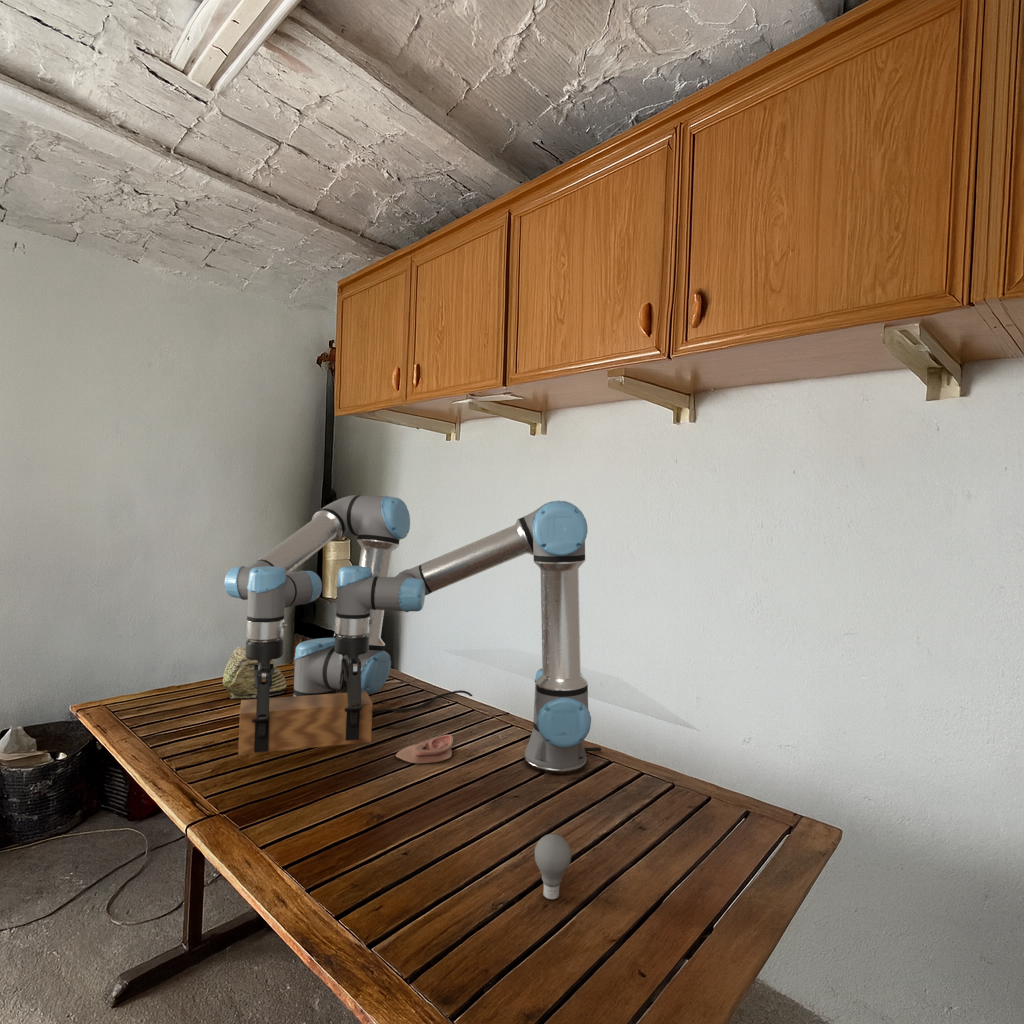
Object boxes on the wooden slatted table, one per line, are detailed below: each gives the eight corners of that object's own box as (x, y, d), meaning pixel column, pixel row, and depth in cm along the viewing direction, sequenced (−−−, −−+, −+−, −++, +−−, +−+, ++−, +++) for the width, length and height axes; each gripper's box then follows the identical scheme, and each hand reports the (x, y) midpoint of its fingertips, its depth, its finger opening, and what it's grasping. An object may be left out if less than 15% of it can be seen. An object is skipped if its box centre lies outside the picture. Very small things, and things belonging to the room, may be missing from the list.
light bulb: (530, 885, 106) (533, 826, 106) (566, 885, 106) (568, 826, 106) (534, 909, 100) (537, 846, 100) (572, 908, 100) (575, 846, 100)
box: (238, 755, 131) (239, 713, 131) (239, 739, 139) (241, 699, 139) (371, 742, 141) (372, 703, 141) (365, 727, 149) (366, 691, 149)
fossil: (218, 695, 195) (220, 647, 195) (278, 685, 208) (279, 640, 207) (228, 703, 189) (230, 653, 188) (289, 692, 201) (290, 645, 201)
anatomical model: (391, 744, 153) (408, 727, 164) (390, 760, 153) (407, 743, 164) (443, 750, 150) (457, 733, 162) (443, 767, 150) (457, 749, 162)
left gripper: (284, 650, 128) (280, 760, 128) (282, 627, 148) (278, 723, 148) (244, 651, 125) (240, 764, 125) (247, 629, 145) (244, 726, 146)
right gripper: (378, 646, 133) (373, 747, 133) (361, 623, 156) (357, 709, 156) (341, 648, 130) (336, 751, 131) (329, 624, 153) (326, 712, 154)
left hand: (261, 742), depth 137 cm, fingers closed on box, 9 cm apart
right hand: (348, 728), depth 143 cm, fingers open, 12 cm apart
